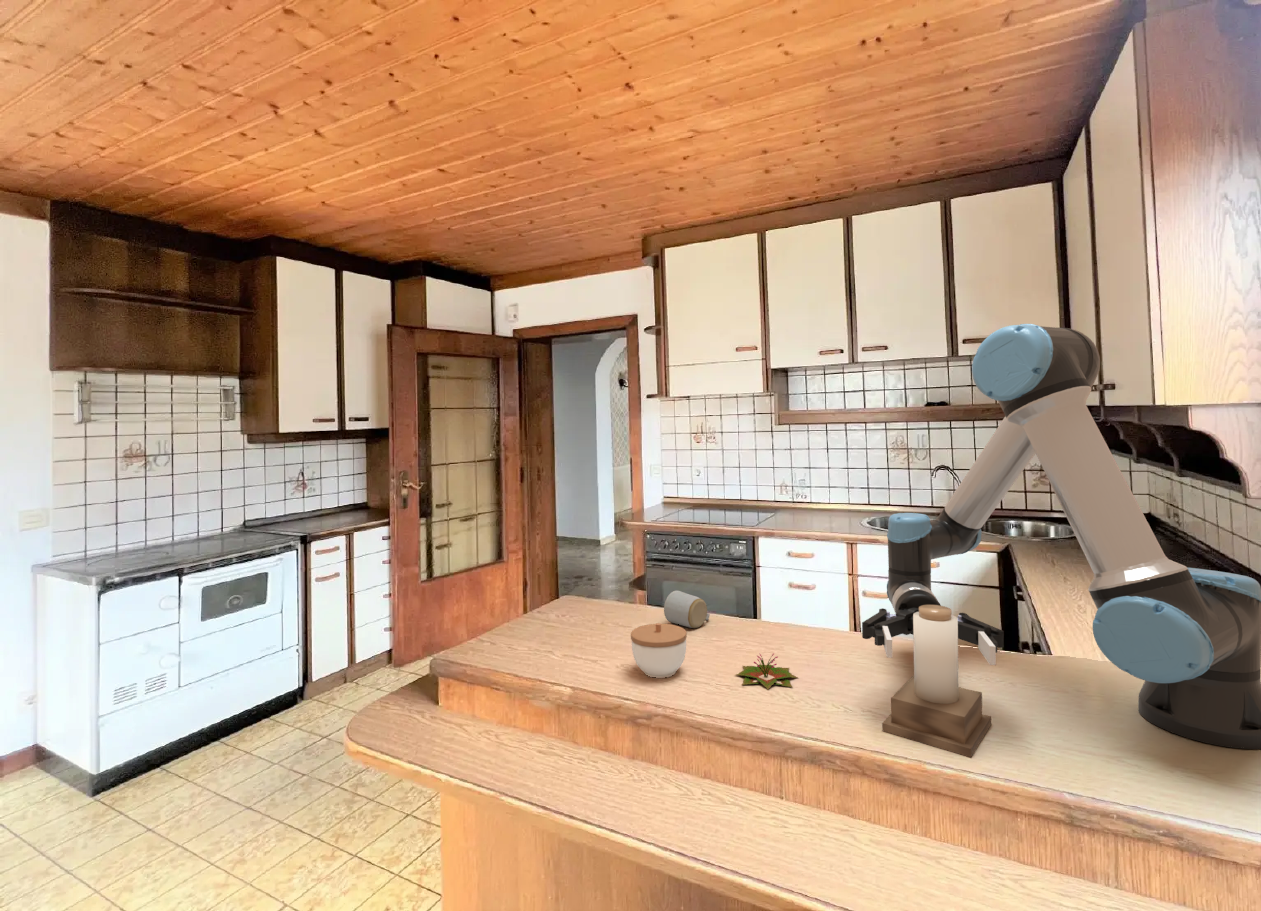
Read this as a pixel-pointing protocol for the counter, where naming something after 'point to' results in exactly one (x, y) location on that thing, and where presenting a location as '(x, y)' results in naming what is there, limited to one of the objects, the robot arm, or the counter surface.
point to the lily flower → (766, 669)
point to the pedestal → (938, 720)
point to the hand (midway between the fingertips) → (940, 652)
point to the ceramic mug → (685, 609)
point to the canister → (936, 654)
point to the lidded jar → (659, 649)
